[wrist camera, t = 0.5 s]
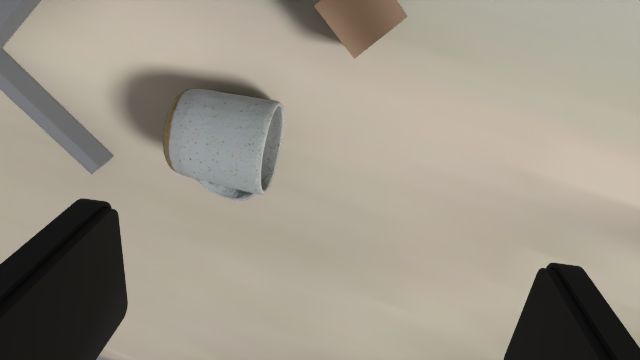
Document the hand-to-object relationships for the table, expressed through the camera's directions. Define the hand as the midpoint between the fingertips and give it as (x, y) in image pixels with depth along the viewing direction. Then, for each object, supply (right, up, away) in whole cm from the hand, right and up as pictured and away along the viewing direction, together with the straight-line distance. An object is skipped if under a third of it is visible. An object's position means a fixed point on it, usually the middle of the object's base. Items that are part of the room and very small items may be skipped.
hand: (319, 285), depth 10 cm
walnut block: (+3, +16, +24) cm, 29 cm away
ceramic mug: (-7, +6, +31) cm, 32 cm away
